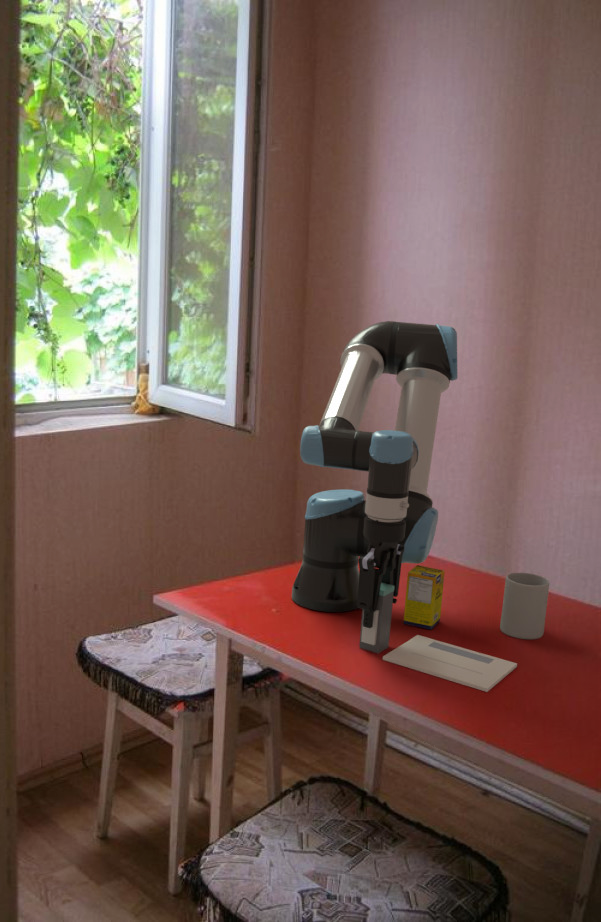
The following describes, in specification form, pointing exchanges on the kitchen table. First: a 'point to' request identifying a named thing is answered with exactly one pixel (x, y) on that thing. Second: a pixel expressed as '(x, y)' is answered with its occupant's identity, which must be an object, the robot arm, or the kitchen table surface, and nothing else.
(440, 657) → the paper pad
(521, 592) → the mug
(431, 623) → the supplement box
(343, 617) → the kitchen table surface
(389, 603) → the grey teal-topped block
